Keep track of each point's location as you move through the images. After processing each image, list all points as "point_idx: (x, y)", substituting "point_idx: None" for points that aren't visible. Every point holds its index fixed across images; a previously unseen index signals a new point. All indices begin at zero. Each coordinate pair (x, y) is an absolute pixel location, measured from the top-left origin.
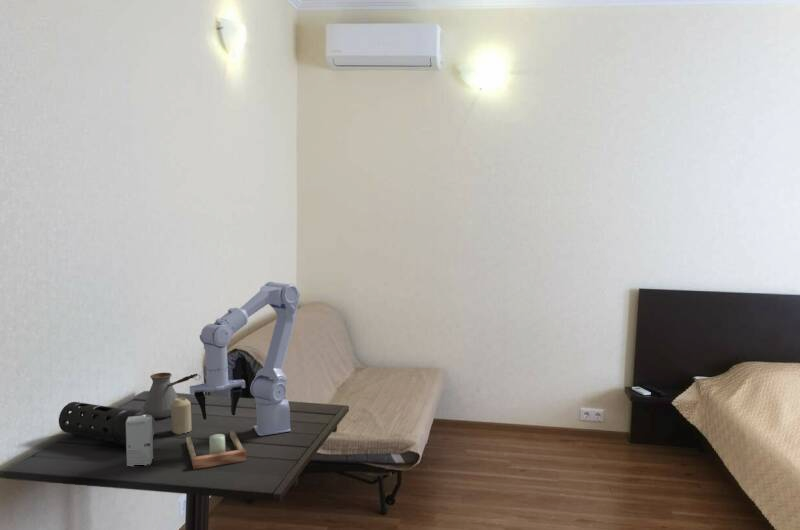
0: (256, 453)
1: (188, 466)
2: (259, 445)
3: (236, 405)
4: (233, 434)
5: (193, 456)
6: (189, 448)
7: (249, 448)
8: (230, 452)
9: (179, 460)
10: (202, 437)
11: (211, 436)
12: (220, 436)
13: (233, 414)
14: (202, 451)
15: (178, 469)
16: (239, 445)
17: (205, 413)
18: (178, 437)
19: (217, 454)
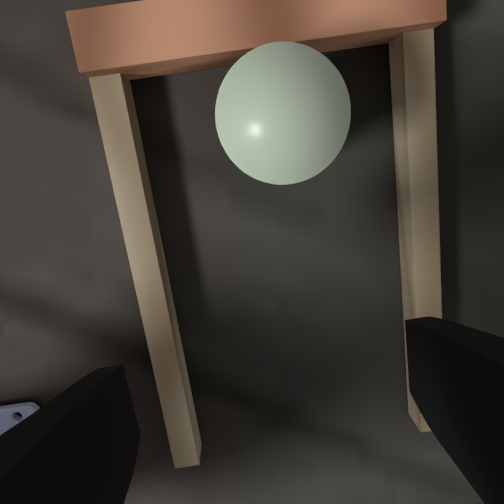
0: (35, 142)
1: (440, 49)
2: (26, 268)
3: (11, 429)
4: (177, 410)
5: (423, 107)
6: (437, 253)
7: (84, 237)
8: (181, 28)
9: (482, 163)
10: (345, 459)
11: (330, 137)
12: (253, 111)
13: (109, 370)
14: (352, 264)
15: (499, 17)
16: (132, 218)
17: (449, 333)
18: (463, 486)
19: (274, 14)
